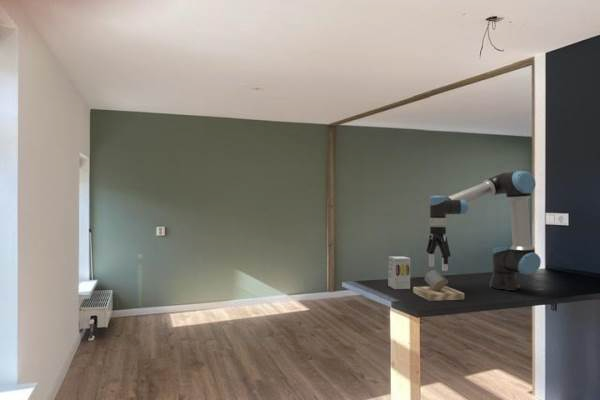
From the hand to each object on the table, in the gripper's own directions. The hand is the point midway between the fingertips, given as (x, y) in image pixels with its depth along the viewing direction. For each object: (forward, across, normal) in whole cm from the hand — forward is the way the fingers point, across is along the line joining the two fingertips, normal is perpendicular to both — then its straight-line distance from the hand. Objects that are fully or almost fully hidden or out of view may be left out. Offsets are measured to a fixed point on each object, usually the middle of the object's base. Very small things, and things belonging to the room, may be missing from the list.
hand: (438, 268), depth 208 cm
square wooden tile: (+14, 0, 0) cm, 14 cm away
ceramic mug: (+11, 0, 0) cm, 11 cm away
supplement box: (+14, -23, -11) cm, 29 cm away
